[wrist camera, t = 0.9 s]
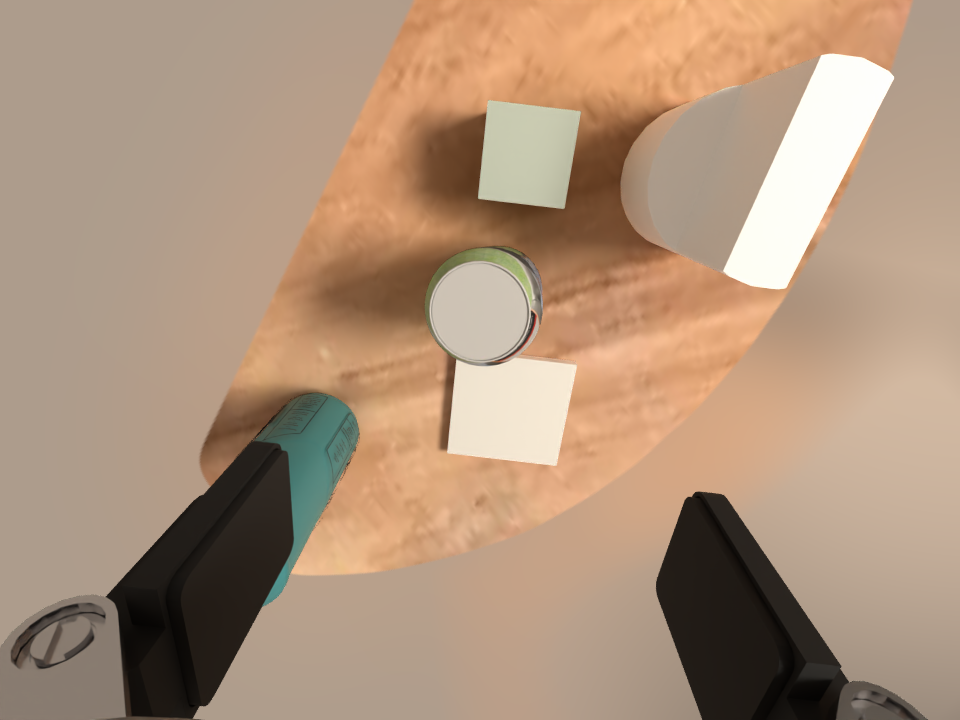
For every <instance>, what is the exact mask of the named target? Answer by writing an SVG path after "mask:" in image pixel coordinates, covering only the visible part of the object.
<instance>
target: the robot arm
mask: <svg viewBox="0 0 960 720" xmlns="http://www.w3.org/2000/svg"><path fill="white" fill-rule="evenodd" d="M293 543H294V531H293V516H292V501H291V486H290V471H289V456H288V452H287V451H284V450H282V449H281V446H280V444H278V443H270V442H261V441H252V442H251V443H250V444H249V445H248V446H247V447H246V448H245V449H244V450H243V452H242V453H241V454H240V455H239V456H238V457H237V458H236V459H235V460H234V461H233V463H232V464H231V465H230V466H229V467H228V468H227V469H226V470H225V471H224V473H223V474H222V475H221V476H220V477H219V478H218V479H217V480H216V481H215V483H214V484H213V485H212V486H211V487H210V488H209V489H208V490H207V491H206V493H205V494H204V495H201V496H199V497H198V498H197V499H195V500H194V501H193V502H192V503H191V504H190V505H189V506H188V508H186V510H185V511H184V512H183V513H182V514H181V515H180V516H179V517H178V518H177V519H176V521H175V522H174V523H173V524H172V525H171V526H170V527H169V528H168V529H167V530H166V531H165V533H164V534H163V535H162V536H161V537H160V538H159V539H158V540H157V541H156V542H155V543H154V545H153V546H152V547H151V548H150V549H149V550H148V551H147V552H146V553H145V554H144V555H143V557H142V558H141V559H140V560H139V561H138V562H137V563H136V564H135V565H134V566H133V567H132V569H131V570H130V571H129V572H128V573H127V574H126V575H125V576H124V577H123V578H122V580H121V581H120V582H119V583H118V584H117V585H116V586H115V587H114V588H113V589H112V590H111V592H110V593H109V594H108V595H107V596H106V597H103V596H98V595H85V596H77V597H73V598H69V599H65V600H62V601H59V602H57V603H55V604H53V605H51V606H48V607H46V608H44V609H42V610H41V611H39V612H38V613H36V614H34V615H33V616H31V617H29V618H28V619H26V620H25V621H24V622H23V623H22V624H21V625H20V626H18V627H17V628H16V629H15V630H14V631H13V632H12V633H11V634H10V635H9V636H8V638H7V639H6V640H5V642H4V643H3V644H2V645H1V647H0V720H199V719H193V717H194V715H195V713H196V711H197V710H198V708H199V706H206V705H208V704H209V702H210V701H211V700H212V698H213V696H214V695H215V693H216V691H217V689H218V687H219V685H220V684H221V682H222V680H223V678H224V676H225V674H226V672H227V671H228V669H229V667H230V665H231V663H232V661H233V660H234V658H235V656H236V654H237V652H238V650H239V648H240V647H241V645H242V643H243V641H244V639H245V637H246V636H247V634H248V632H249V630H250V628H251V626H252V624H253V623H254V621H255V619H256V617H257V615H258V613H259V611H260V609H261V608H262V606H263V604H264V602H265V600H266V598H267V597H268V595H269V593H270V591H271V589H272V587H273V586H274V584H275V582H276V580H277V578H278V576H279V574H280V573H281V571H282V569H283V567H284V565H285V563H286V561H287V560H288V558H289V556H290V554H291V551H292V548H293ZM656 592H657V597H658V599H659V602H660V605H661V608H662V610H663V613H664V616H665V619H666V621H667V624H668V627H669V630H670V632H671V635H672V638H673V641H674V643H675V646H676V649H677V652H678V654H679V657H680V660H681V662H682V665H683V668H684V670H685V673H686V676H687V679H688V682H689V684H690V687H691V690H692V693H693V695H694V698H695V701H696V703H697V706H698V709H699V712H700V714H701V717H702V720H928V719H927V718H925V717H924V716H923V715H922V714H921V713H920V712H919V711H918V710H917V709H915V707H913V706H912V705H911V704H909V703H908V702H906V701H905V700H903V699H902V698H901V697H899V696H898V695H896V694H895V693H893V692H891V691H889V690H887V689H885V688H883V687H881V686H879V685H875V684H872V683H869V682H865V681H852V682H850V683H849V681H848V680H847V679H846V677H845V675H844V674H843V672H842V671H841V669H840V668H841V665H840V664H839V662H838V661H837V659H836V658H835V656H834V655H833V653H832V652H831V650H830V649H829V647H828V646H827V644H826V643H825V641H824V640H823V639H822V637H821V636H820V634H819V633H818V631H817V630H816V628H815V627H814V625H813V624H812V622H811V621H810V619H809V618H808V617H807V615H806V614H805V612H804V611H803V609H802V608H801V606H800V605H799V603H798V602H797V600H796V599H795V598H794V596H793V595H792V593H791V592H790V590H789V589H788V587H787V586H786V584H785V583H784V581H783V580H782V578H781V577H780V576H779V574H778V573H777V571H776V570H775V568H774V567H773V565H772V564H771V562H770V561H769V559H768V558H767V556H766V555H765V554H764V552H763V551H762V549H761V548H760V546H759V545H758V543H757V542H756V540H755V539H754V537H753V536H752V535H751V533H750V532H749V530H748V529H747V527H746V526H745V525H744V523H743V521H742V520H741V518H740V517H739V515H738V514H737V513H736V511H735V510H734V508H733V507H732V505H731V504H730V502H729V501H728V499H727V498H726V497H725V496H724V495H722V494H716V493H707V492H695V493H694V494H693V496H692V497H687V498H686V500H685V501H684V504H683V507H682V510H681V513H680V515H679V518H678V521H677V524H676V527H675V529H674V532H673V535H672V538H671V541H670V544H669V546H668V549H667V552H666V555H665V558H664V560H663V563H662V566H661V569H660V572H659V575H658V577H657V581H656Z"/></svg>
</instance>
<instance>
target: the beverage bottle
mask: <svg viewBox="0 0 960 720" xmlns="http://www.w3.org/2000/svg"><path fill="white" fill-rule="evenodd" d="M294 398H295V397H294ZM290 400H291V399H290ZM287 403H288V401H287ZM281 408H282V407H281ZM268 424H269V425H268ZM267 425H268V426H267ZM266 426H267V427H266ZM266 426H265V427H266V428H265V427H263V429H264V428H265V429H264V430H263V429H262V430H261V431H260V432H259V433H258V434H257V436H258V435H259V434H260V433H261V432H262V431H263V432H262V433H261V434H260V435H259V436H258V437H257V436H255V438H253V440H254V439H255V441H261V442H270V443H278V444H280V446H281V449H282V450H284V451H287V452H288V456H289V471H290V486H291V501H292V516H293V531H294V543H293V548H292V551H291V554H290V556H289V558H288V560H287V561H286V563H285V565H284V567H283V569H282V571H281V573H280V574H279V576H278V578H277V580H276V582H275V584H274V586H273V587H272V589H271V591H270V593H269V595H268V597H267V598H266V600H265V602H264V604H263V606H264V605H267V604H269V603H270V602H272V601H273V600H274V599H276V598H277V597H278V596H279V595H280V593H281V592H282V590H283V589H284V587H285V585H286V583H287V581H288V578H289V575H290V573H291V571H292V569H293V567H294V565H295V563H296V561H297V559H298V557H299V556H300V554H301V552H302V550H303V548H304V546H305V544H306V542H307V540H308V538H309V536H310V534H311V532H312V531H313V530H314V529H313V528H314V527H315V525H316V523H317V521H318V519H319V518H320V516H321V514H322V512H323V510H324V508H325V507H326V505H327V503H330V502H331V501H330V502H328V501H329V500H330V497H331V496H332V495H333V494H332V493H333V491H334V489H335V487H336V485H337V483H338V481H339V479H340V477H341V475H342V473H343V471H344V469H346V468H345V467H347V466H349V465H348V464H350V462H351V461H350V462H349V463H348V461H349V459H350V457H351V455H352V453H353V451H355V450H354V449H356V448H355V447H356V444H357V442H358V437H359V439H360V434H359V430H358V429H359V428H358V423H357V420H356V418H355V416H354V414H353V412H352V411H351V410H350V408H349V407H348V406H347V405H346V404H345V403H343V402H342V401H340V400H339V399H337V398H335V397H333V396H330V395H327V394H322V393H310V394H305V395H302V396H301V395H300V397H297V398H295V399H293V400H292V401H290V402H289V403H288V404H287V405H285V406H284V405H283V408H282V409H281V410H279V412H277V414H276V415H275V417H272V418H271V419H270V421H269V422H268V423H267V424H266ZM256 437H257V438H256ZM253 440H252V441H253ZM249 443H250V442H249ZM357 445H358V444H357ZM247 446H248V445H247ZM245 448H246V447H245ZM243 450H244V449H243ZM238 455H240V454H238ZM237 457H238V456H237ZM352 457H353V456H352ZM235 459H236V458H235ZM347 463H348V464H347ZM346 465H347V466H346ZM228 466H229V465H228ZM347 468H348V467H347ZM346 470H347V469H346ZM345 472H346V471H344V474H345ZM223 473H224V472H223ZM343 476H344V475H343ZM342 478H343V477H342ZM341 480H342V479H341ZM341 480H340V481H341ZM336 490H337V489H336ZM334 494H335V493H334ZM331 498H332V497H331ZM327 508H328V507H327ZM322 518H323V517H322ZM320 521H321V520H320ZM318 524H319V523H318ZM263 606H262V607H263Z"/></svg>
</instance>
